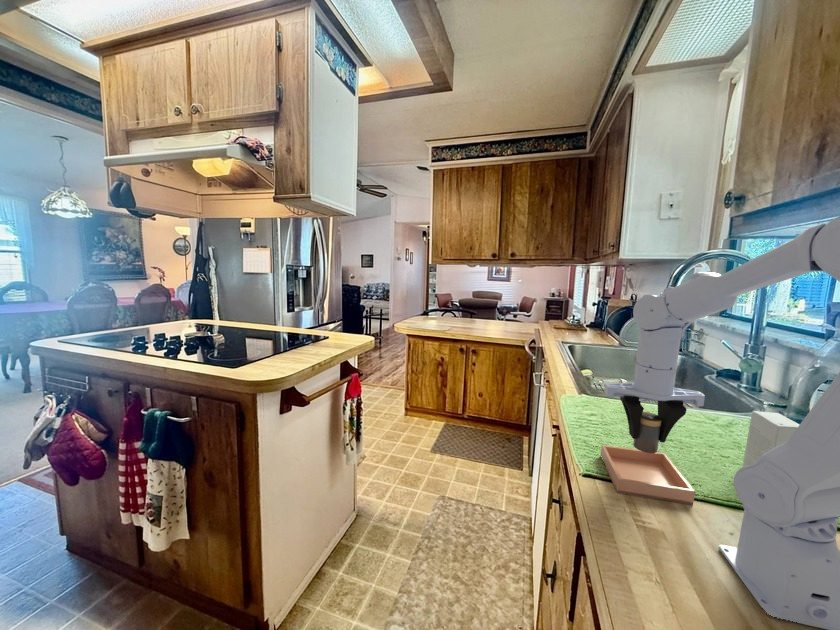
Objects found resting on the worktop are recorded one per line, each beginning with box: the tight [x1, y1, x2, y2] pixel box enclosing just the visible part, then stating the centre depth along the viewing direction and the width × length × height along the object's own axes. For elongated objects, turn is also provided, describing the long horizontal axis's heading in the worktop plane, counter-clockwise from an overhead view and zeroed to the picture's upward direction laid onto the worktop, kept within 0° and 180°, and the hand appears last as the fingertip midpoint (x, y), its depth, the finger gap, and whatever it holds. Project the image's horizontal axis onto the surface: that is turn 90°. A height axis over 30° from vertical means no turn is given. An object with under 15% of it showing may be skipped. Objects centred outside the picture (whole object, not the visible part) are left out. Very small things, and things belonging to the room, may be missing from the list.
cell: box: [632, 411, 662, 453], centre depth 59 cm, size 4×4×6 cm
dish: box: [600, 444, 696, 506], centre depth 60 cm, size 11×11×2 cm
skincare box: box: [741, 410, 801, 468], centre depth 59 cm, size 6×4×12 cm
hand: (646, 437), depth 59 cm, fingers closed on cell, 4 cm apart
